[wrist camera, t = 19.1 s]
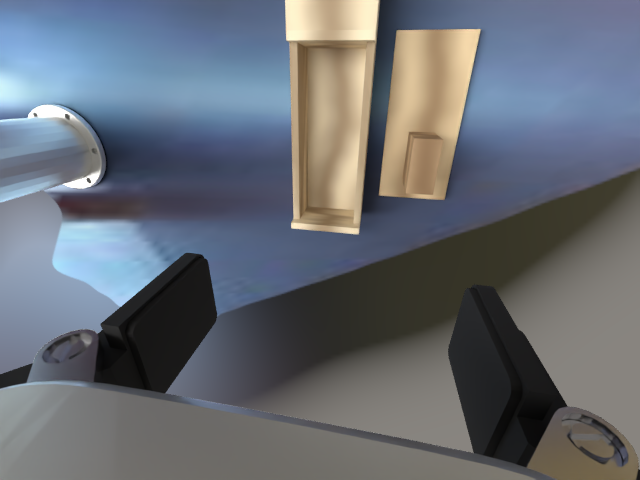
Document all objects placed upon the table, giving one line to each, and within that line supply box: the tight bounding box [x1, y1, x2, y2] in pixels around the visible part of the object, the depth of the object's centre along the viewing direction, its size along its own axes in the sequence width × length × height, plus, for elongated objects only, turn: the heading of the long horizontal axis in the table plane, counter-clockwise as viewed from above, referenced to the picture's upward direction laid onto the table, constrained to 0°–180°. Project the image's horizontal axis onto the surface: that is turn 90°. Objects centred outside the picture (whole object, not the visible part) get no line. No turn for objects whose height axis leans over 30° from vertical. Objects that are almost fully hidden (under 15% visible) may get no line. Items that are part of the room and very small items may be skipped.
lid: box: [379, 29, 481, 200], centre depth 34 cm, size 9×19×7 cm, turn 179°
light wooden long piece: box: [285, 0, 380, 234], centre depth 35 cm, size 9×27×7 cm, turn 179°
